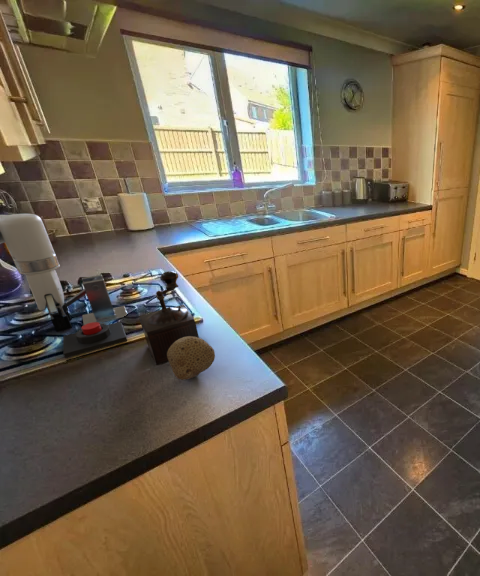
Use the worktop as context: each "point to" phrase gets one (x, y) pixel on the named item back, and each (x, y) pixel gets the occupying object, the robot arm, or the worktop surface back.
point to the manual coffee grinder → (167, 323)
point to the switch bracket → (100, 302)
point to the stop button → (91, 328)
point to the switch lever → (74, 299)
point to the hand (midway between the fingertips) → (63, 325)
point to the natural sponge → (190, 357)
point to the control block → (93, 340)
